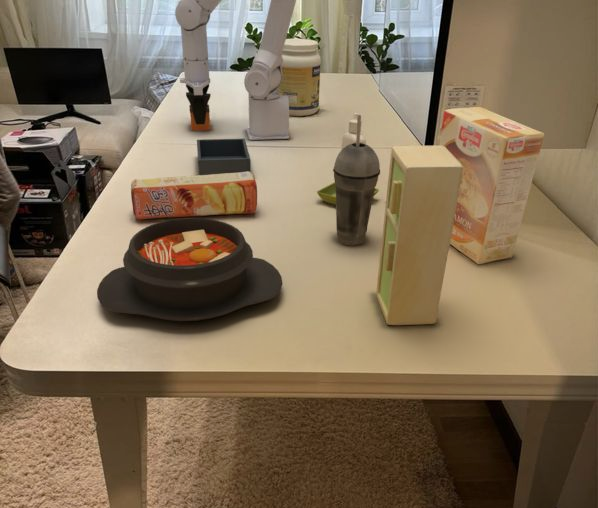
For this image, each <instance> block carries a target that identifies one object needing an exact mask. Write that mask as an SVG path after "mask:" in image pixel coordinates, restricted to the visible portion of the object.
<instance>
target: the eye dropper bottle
mask: <svg viewBox="0 0 598 508" xmlns="http://www.w3.org/2000/svg"><path fill="white" fill-rule="evenodd" d="M358 115H359V113H357V112H354V113H353V116H352V119H350V120H348V131H345V132H344V133H343V135H342V138H341V150H342V149H343V148H345V147H346V146H347V145H349V144H352V143H356V137H357V118H358ZM360 143H363V144H366V145H367V142H366V138H365V136H364V135H363V133H362V125H361V126H360Z"/></svg>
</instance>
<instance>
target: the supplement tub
mask: <svg viewBox="0 0 598 508" xmlns="http://www.w3.org/2000/svg"><path fill="white" fill-rule="evenodd" d="M318 51H319V42H318V41H316V40H313V39H307V38H286V40H285V44H284V48H283V52H282V58H283V63H282V75H283V78H282V82H281V84H280V86H279V87H278V90H279V93H280V96H287V97H288V101H289V116H292V117H304V116H305V117H306V116H310V115H313V114H316V112H318V111H319V108H320V87H321V66H322V65H321V64H322V61H321V59H322V58H321V56H320V54H319V53H318Z"/></svg>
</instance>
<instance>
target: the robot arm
mask: <svg viewBox="0 0 598 508" xmlns="http://www.w3.org/2000/svg"><path fill="white" fill-rule="evenodd" d="M222 1H223V0H179V1H178V2H177V5H176V7H175V11H174V15H175V19H176V22H177V24H178V25H179V26H180V34H181V49H182V60H183V61H182V62H183V71H184V77H181V78H179V83H180V84H185V87H186V89H187V91H185V96H186V99H187V101H188V103H189V105H191V107H192V111H193V115H194V119H195V123H196V124H205V120H206V110H207V105H209V101H210V99H211V97H212V96H211V93H208V91H209V88H210V84H211V78H210V67H209V64H210V63H209V47H208V33H207V32H208V31H207V24H208V23H209V21H210V19H211V14H212V13H213V11H214V10H215V9H216V8H217V7H218V6H219V5H220V3H221V2H222ZM296 3H297V0H270V4H269V7H268V11H267V15H266V19H265V22H264V23H265V24H264V28H263V32H262V36H261V40H260V43H259V48H258V50H257V53H256V54H255V57H254V58H253V60H252V65H251V67H250V69H249V70H248V71H247V72H246V74H245V76H244V82H243V84H244V88H245V91H246V92H247V93H248V124H249V125H248V128H247V127H246V133H247V136H248V140H250V141H251V140H252V141H255V140H256V141H257V140H258V141H259V140H289V139H290V115H289V101H288V97H287V96H280V93H279V90H278V87H279V86H280V84H281V82H282V78H283V75H282V63H283V58H282V52H283V48H284V44H285V40H286V39H287V38H288V37H287V36H288V33H289V29H290V25H291V21H292V17H293V14H294V10H295V6H296Z"/></svg>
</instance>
